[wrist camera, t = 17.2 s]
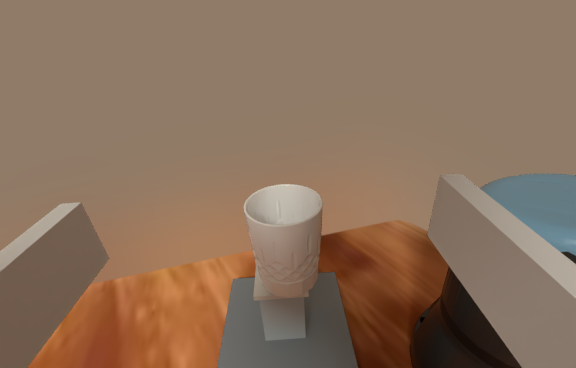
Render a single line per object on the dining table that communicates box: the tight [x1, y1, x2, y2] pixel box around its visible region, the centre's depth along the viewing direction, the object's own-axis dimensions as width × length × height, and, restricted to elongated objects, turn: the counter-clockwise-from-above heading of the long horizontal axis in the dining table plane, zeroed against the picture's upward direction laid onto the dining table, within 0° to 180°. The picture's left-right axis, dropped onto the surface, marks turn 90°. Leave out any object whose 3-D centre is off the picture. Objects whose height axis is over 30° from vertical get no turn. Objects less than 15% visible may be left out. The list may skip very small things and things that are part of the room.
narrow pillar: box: [217, 265, 358, 368], centre depth 35 cm, size 16×16×10 cm
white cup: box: [244, 184, 323, 298], centre depth 30 cm, size 8×8×10 cm
